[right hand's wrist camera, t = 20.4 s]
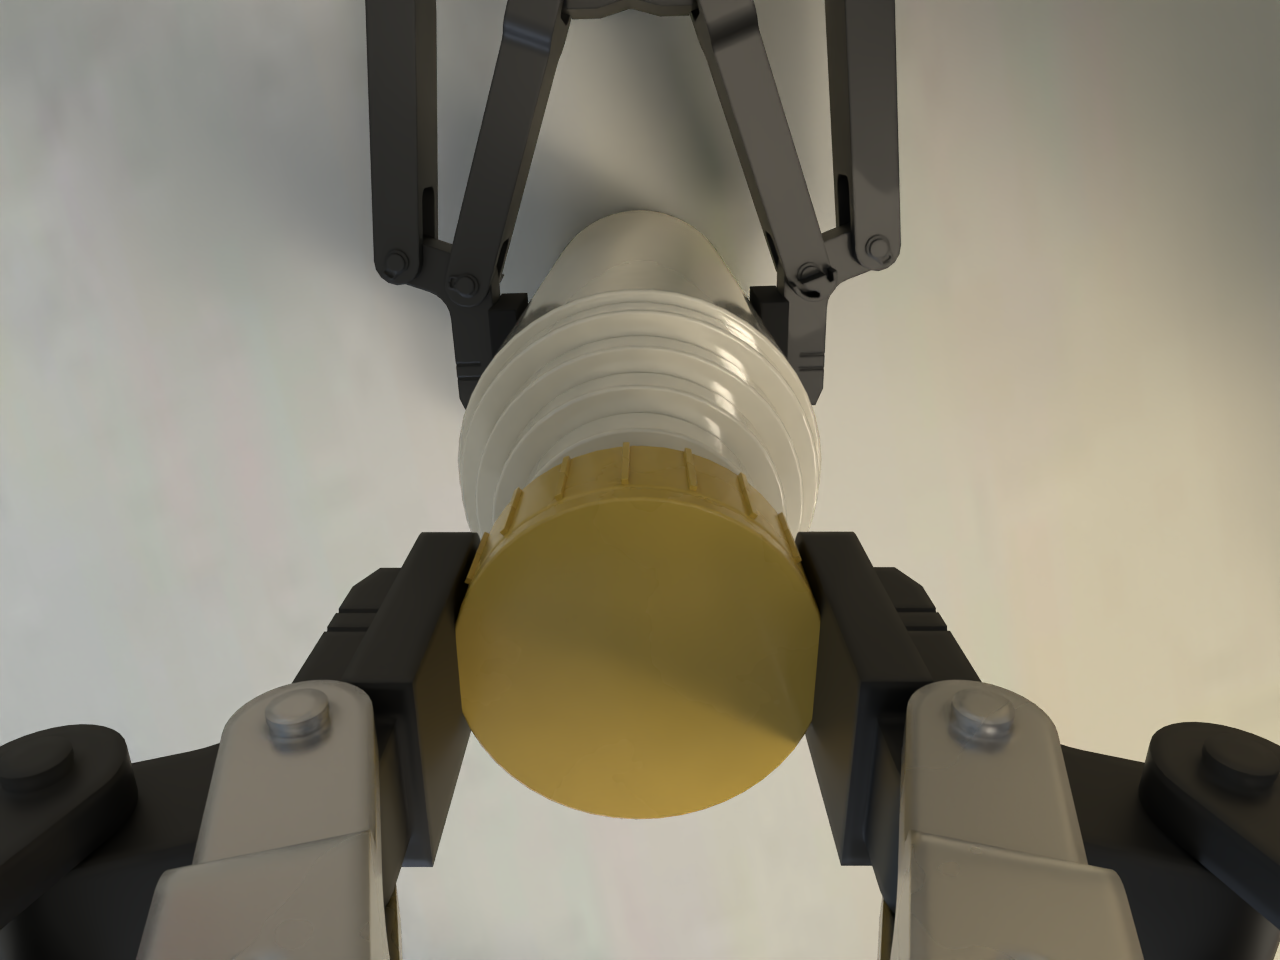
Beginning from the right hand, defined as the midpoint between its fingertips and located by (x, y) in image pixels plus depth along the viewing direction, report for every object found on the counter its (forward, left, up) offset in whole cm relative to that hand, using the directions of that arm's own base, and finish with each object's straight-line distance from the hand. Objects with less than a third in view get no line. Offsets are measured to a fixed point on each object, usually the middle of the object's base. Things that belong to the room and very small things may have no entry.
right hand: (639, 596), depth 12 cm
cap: (0, 0, +2) cm, 2 cm away
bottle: (0, 0, -22) cm, 22 cm away
